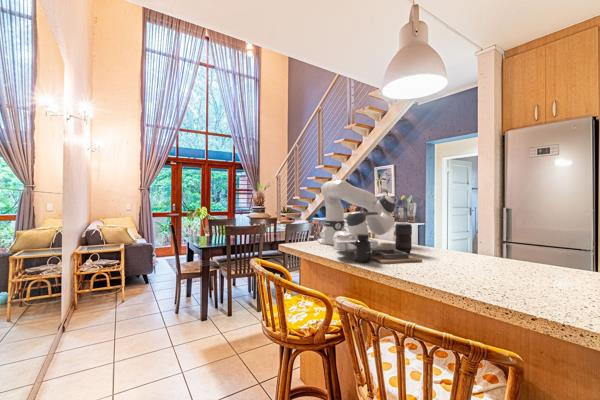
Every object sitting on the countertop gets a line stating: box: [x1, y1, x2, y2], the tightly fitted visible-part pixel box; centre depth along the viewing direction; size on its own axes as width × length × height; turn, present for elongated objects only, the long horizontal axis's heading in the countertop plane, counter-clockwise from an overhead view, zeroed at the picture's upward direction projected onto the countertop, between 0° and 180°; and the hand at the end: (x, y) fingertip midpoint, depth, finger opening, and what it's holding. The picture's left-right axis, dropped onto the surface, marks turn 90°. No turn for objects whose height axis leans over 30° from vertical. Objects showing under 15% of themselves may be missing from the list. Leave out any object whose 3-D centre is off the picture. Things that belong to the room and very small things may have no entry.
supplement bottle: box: [354, 234, 372, 264], centre depth 125 cm, size 7×7×12 cm
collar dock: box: [370, 248, 423, 265], centre depth 133 cm, size 20×20×3 cm
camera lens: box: [394, 223, 413, 255], centre depth 146 cm, size 8×8×15 cm
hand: (363, 247), depth 124 cm, fingers closed on supplement bottle, 7 cm apart
